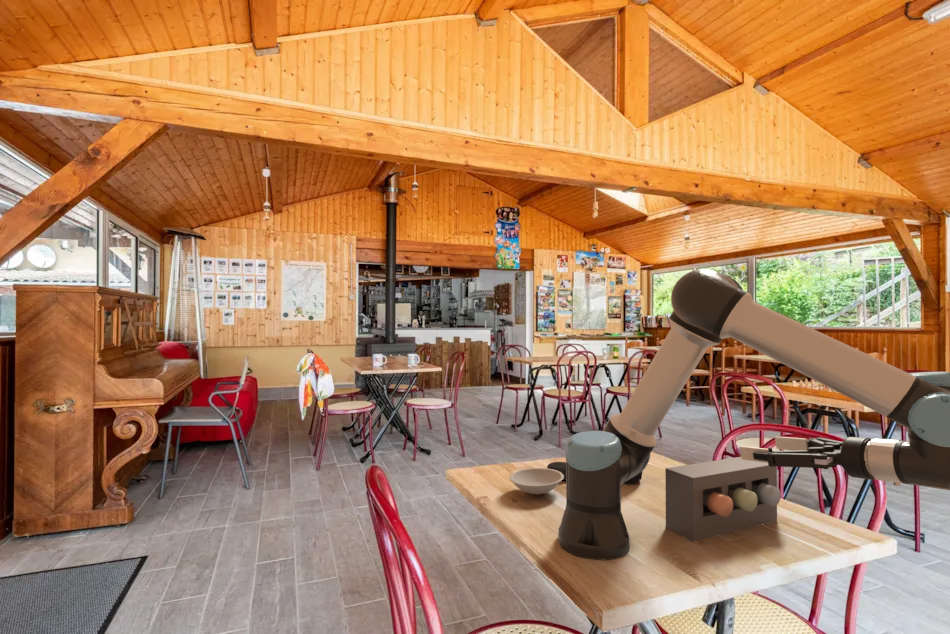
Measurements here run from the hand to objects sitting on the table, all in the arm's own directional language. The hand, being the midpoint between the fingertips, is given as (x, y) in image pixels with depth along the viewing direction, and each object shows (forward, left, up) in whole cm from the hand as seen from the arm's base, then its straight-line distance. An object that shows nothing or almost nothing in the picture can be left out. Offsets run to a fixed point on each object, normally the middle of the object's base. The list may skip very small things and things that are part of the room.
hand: (759, 447), depth 107 cm
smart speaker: (-15, +56, -21) cm, 61 cm away
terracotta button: (-8, +5, -15) cm, 18 cm away
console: (0, +10, -21) cm, 23 cm away
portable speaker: (+2, +45, -21) cm, 49 cm away
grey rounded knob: (+8, +5, -15) cm, 18 cm away
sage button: (0, +5, -15) cm, 16 cm away
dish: (-30, +46, -21) cm, 58 cm away
